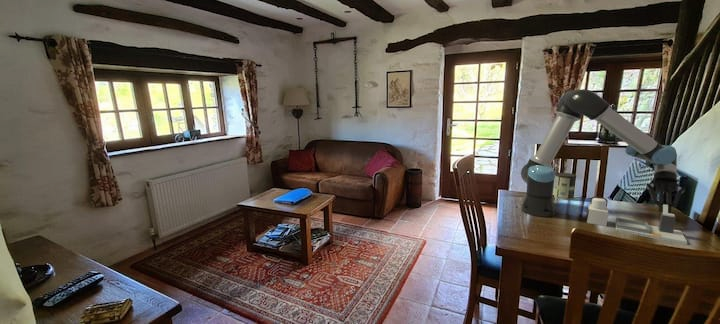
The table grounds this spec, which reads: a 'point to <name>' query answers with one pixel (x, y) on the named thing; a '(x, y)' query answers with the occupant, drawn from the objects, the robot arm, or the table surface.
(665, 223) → the breaker toggle
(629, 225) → the breaker panel
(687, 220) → the table surface
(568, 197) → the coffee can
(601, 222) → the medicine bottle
